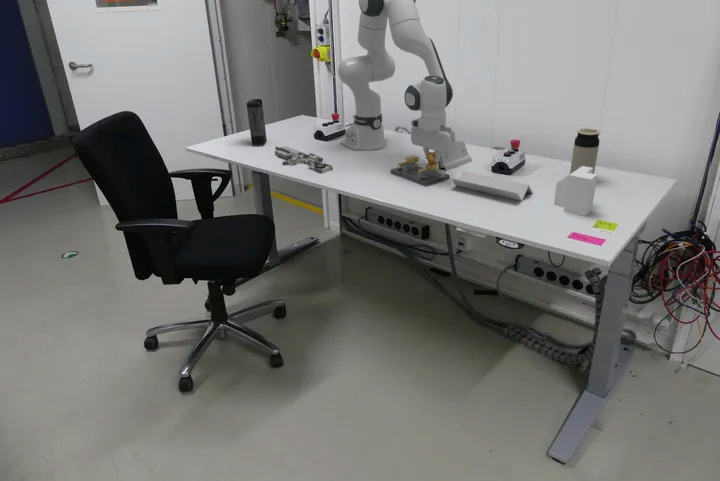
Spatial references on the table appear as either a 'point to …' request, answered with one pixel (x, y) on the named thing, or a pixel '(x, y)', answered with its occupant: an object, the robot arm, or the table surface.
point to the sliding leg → (430, 164)
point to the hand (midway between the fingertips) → (432, 160)
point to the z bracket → (492, 185)
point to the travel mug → (585, 149)
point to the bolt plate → (412, 174)
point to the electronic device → (256, 122)
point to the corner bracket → (577, 191)
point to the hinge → (455, 157)
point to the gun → (302, 159)
